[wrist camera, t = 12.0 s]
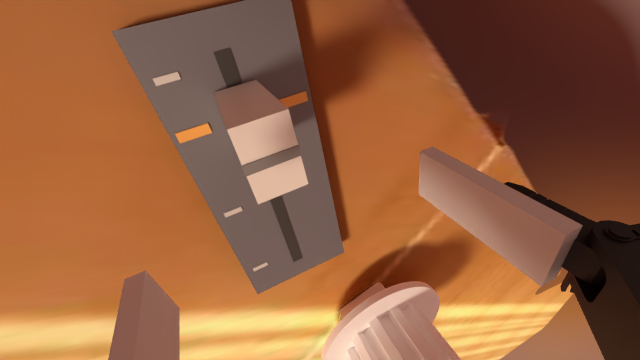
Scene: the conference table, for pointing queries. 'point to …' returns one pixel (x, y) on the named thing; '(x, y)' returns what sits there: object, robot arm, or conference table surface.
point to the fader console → (212, 136)
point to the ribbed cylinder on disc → (389, 326)
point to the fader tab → (262, 139)
